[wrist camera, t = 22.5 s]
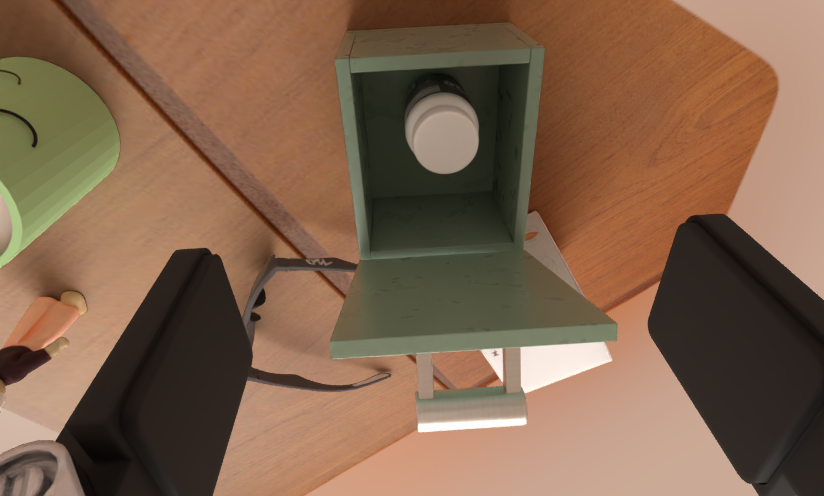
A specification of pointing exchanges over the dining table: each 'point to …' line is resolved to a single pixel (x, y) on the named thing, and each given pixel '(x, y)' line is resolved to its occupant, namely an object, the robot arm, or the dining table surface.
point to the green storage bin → (397, 164)
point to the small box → (553, 359)
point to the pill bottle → (440, 123)
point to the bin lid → (464, 325)
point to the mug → (47, 148)
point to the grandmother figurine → (38, 337)
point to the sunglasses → (249, 318)
